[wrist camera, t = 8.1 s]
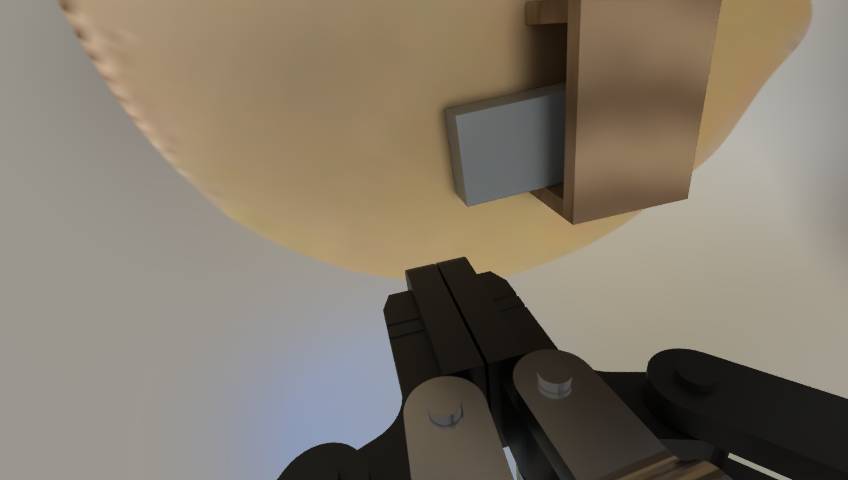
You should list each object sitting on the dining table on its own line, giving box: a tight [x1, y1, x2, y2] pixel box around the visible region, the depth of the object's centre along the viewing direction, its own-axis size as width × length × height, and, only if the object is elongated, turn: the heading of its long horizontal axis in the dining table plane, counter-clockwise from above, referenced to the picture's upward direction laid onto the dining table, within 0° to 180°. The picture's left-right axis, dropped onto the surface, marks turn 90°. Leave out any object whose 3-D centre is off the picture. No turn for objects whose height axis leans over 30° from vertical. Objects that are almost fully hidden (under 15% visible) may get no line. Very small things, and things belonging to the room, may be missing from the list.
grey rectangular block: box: [444, 82, 566, 207], centre depth 28 cm, size 6×12×3 cm, turn 99°
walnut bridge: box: [526, 0, 722, 225], centre depth 26 cm, size 12×8×6 cm, turn 7°
